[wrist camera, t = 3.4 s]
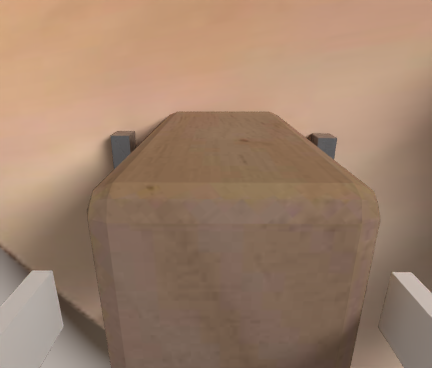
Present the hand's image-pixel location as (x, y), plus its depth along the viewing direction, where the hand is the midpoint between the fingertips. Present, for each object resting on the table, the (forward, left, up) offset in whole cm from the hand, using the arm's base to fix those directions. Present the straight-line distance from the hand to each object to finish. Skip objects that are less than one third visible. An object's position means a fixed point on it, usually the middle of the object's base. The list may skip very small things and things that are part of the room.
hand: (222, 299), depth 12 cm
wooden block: (0, 0, -19) cm, 19 cm away
